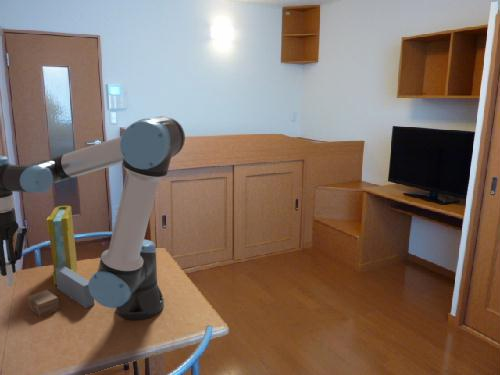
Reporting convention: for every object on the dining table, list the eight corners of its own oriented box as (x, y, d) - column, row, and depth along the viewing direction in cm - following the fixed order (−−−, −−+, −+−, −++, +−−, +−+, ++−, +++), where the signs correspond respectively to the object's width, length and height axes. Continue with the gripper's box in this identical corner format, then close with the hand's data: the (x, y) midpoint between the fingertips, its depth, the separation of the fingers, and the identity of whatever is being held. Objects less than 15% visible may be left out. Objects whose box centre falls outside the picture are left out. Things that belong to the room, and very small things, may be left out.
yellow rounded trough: (74, 282, 149) (67, 218, 143) (54, 284, 147) (46, 219, 141) (79, 263, 165) (73, 205, 159) (61, 265, 163) (54, 206, 157)
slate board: (94, 304, 134) (92, 282, 132) (85, 308, 132) (83, 286, 130) (65, 285, 147) (63, 265, 145) (57, 288, 144) (55, 268, 142)
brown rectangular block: (59, 309, 131) (57, 297, 130) (40, 317, 127) (38, 304, 126) (48, 301, 136) (46, 289, 135) (29, 308, 132) (27, 296, 131)
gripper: (18, 202, 124) (27, 272, 129) (-31, 211, 114) (-19, 287, 120) (28, 207, 119) (37, 280, 125) (-22, 217, 109) (-10, 296, 115)
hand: (9, 283), depth 122 cm, fingers closed
